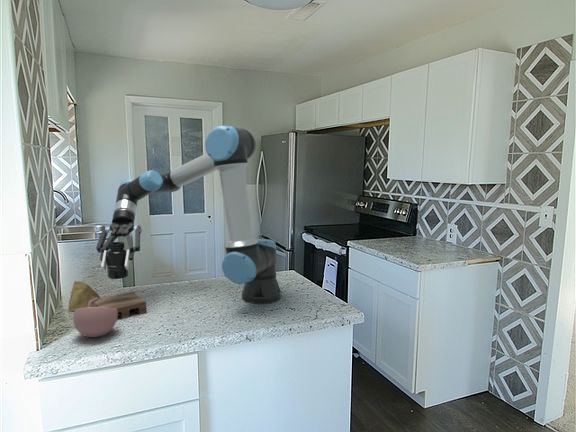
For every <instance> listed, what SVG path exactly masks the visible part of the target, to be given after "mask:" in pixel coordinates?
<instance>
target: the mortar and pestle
mask: <svg viewBox="0 0 576 432" xmlns="http://www.w3.org/2000/svg"><path fill="white" fill-rule="evenodd" d="M97 300H98V297H96V298H94V299H93V300H90V301H89V303H88V307H85V308H78V309H76V310H75V311H73V317H72V321H73V325H74V327H75V329H76V331H77V332H78V333H79V334H81V335H82V336H84V337H88V338H98V337H102V336H104V335H106V334H109V332H110V331H111V330H112V329H113V328H114V327H115V325H116V324H117V321H118V317H119V315H118V310H117V309H115V308H109V307H92V304H93V303H94V302H96V301H97Z"/></svg>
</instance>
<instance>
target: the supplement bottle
mask: <svg viewBox="0 0 576 432" xmlns="http://www.w3.org/2000/svg"><path fill="white" fill-rule="evenodd" d="M125 248H126V247H125V242H123V241H114V242H112V243H110V244H109V250H108V252H107V254H106V256H107V265H106V271H107V273H106V274H107V278H109V279H110V280H111V279H112V280H119V279H124V278H125V279H126V278H127V277H128V276H129V275H130V274H129V272H130V271H129V270H126V268H125V260H126V253H127V250H126V249H125Z"/></svg>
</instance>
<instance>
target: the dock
mask: <svg viewBox="0 0 576 432" xmlns="http://www.w3.org/2000/svg"><path fill="white" fill-rule="evenodd" d="M93 307H109V308H115V309H117V310H118V317H120V318H121V319H126V318H130V310H134V311H135V312H136V313H138V314H139V315H142V314H146V313H147V310H148V309H147V301H146V300H145V299H143V298H142V297H141V296H139V295H138V294H136V293H135V291H130V292H125V293H120V294H116V295H115V294H114V295H111V296H110V295H109V296H105V297H102V298H101V297H100V299H98V300H97V301H96V302H94V303H93Z"/></svg>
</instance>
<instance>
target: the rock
mask: <svg viewBox="0 0 576 432" xmlns="http://www.w3.org/2000/svg"><path fill="white" fill-rule="evenodd" d="M72 285H73V286H72V288H71V289H72V290H71V293H70V297H69V301H68V311H67V312H68V313H72V312H75V310H76V309H78V308H85V307H88V303H89V301H90V300H93V299H94V298H96V297H98V299H100V298H101V297H100V295H99V293H98V292H97V291H95V290H94V289H93V288H92V287H91V286H90V285H89V284H87V283H85V282H83V281H80V280H78V281H74V282H73V284H72ZM92 307H93V304H92Z"/></svg>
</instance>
